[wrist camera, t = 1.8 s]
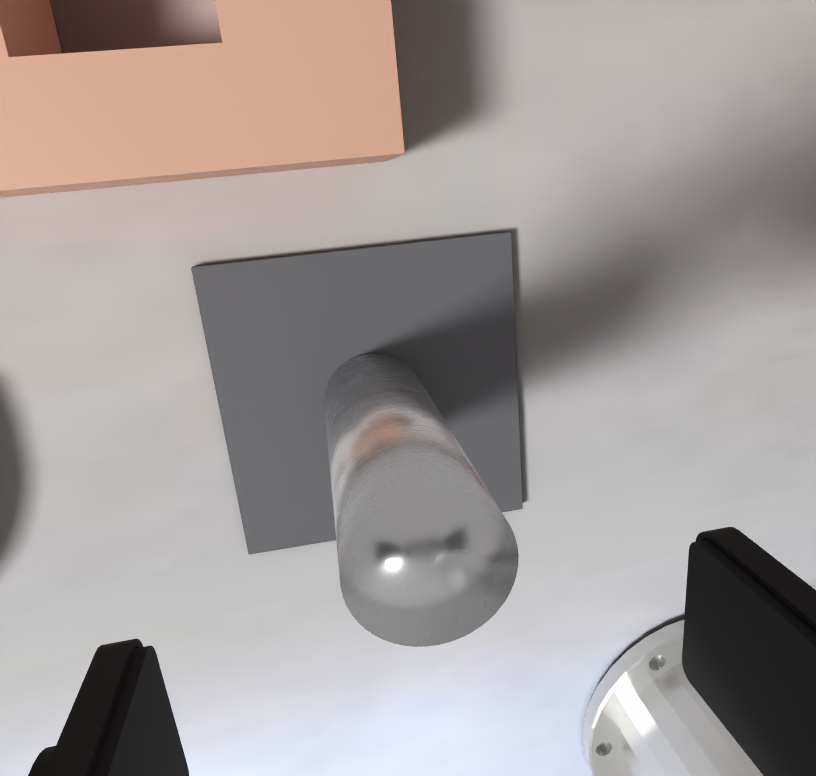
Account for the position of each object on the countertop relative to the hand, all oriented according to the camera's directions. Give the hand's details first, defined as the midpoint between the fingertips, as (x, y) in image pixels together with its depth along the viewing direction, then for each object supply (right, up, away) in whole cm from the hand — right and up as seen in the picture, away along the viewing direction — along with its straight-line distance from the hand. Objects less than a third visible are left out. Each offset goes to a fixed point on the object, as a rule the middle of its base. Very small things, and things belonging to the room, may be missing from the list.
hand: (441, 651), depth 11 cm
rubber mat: (-2, +4, +15) cm, 15 cm away
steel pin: (-2, +4, +14) cm, 15 cm away
